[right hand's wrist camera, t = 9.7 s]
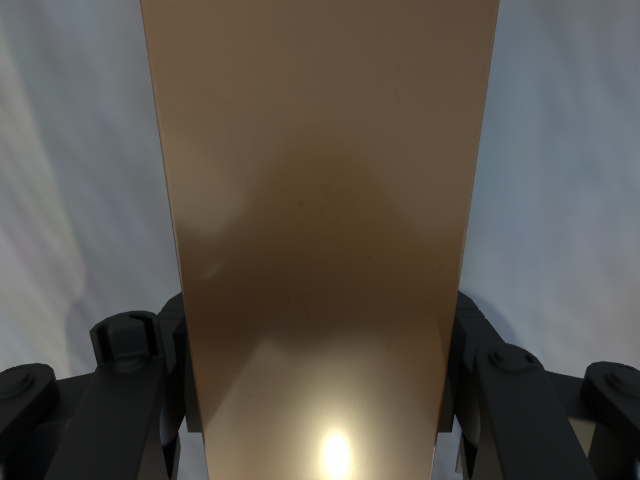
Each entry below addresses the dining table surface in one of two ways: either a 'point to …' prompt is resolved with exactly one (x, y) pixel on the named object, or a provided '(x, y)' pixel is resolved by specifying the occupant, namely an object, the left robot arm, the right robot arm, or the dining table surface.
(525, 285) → the dining table surface
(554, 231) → the dining table surface
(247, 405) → the beam
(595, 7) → the dining table surface
